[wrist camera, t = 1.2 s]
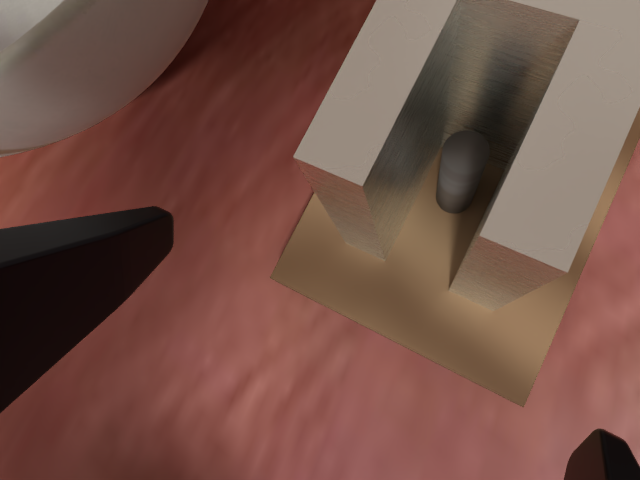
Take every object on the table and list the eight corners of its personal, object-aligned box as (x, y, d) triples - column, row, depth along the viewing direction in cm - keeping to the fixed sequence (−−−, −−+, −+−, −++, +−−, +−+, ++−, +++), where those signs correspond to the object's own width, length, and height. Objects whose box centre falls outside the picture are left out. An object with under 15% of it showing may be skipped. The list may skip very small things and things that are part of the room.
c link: (493, 311, 20) (567, 272, 10) (345, 243, 22) (292, 157, 12) (567, 148, 21) (697, -27, 11) (419, 96, 23) (424, -91, 13)
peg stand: (517, 404, 20) (561, 425, 14) (276, 281, 23) (230, 257, 17) (639, 122, 22) (724, 35, 16) (399, 44, 25) (395, -52, 19)
